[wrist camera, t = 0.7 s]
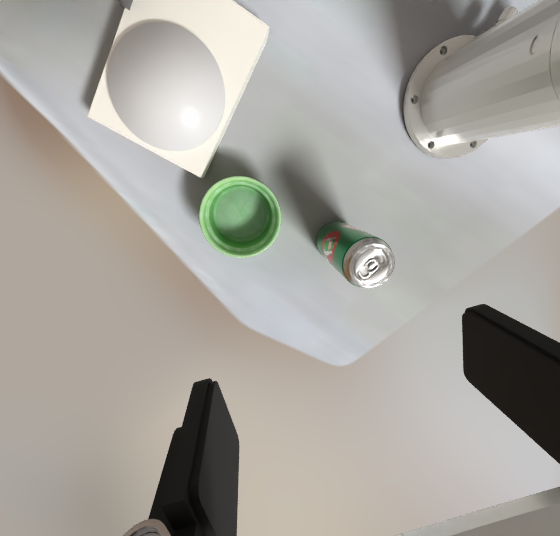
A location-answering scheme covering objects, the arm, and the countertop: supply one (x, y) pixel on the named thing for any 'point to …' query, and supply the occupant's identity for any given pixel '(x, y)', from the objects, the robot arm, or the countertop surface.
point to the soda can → (356, 254)
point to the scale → (178, 75)
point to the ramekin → (240, 216)
